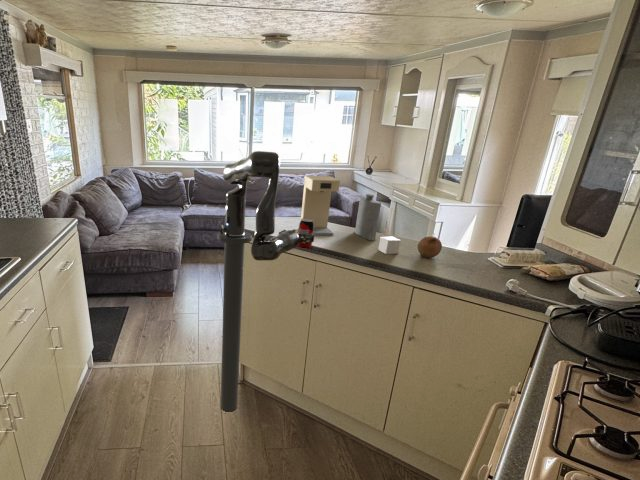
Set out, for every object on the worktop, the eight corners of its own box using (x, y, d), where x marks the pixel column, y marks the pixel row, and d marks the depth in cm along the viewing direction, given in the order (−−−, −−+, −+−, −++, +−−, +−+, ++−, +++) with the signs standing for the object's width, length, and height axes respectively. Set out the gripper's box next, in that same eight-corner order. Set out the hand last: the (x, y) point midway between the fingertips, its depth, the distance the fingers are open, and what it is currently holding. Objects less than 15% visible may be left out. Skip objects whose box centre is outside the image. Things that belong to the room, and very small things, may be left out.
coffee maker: (333, 235, 208) (340, 180, 198) (307, 235, 207) (313, 180, 196) (324, 227, 221) (330, 176, 211) (299, 227, 220) (305, 175, 209)
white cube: (378, 250, 189) (380, 236, 187) (390, 249, 190) (392, 236, 188) (385, 254, 184) (388, 240, 181) (398, 253, 185) (400, 240, 183)
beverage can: (314, 247, 189) (317, 220, 184) (305, 249, 185) (308, 222, 180) (303, 243, 193) (305, 217, 188) (294, 246, 189) (296, 219, 184)
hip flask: (376, 240, 203) (383, 197, 195) (368, 240, 202) (375, 198, 194) (359, 231, 217) (365, 191, 209) (352, 231, 216) (358, 191, 208)
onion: (429, 266, 180) (437, 248, 173) (410, 255, 185) (416, 237, 177) (442, 254, 184) (449, 237, 177) (422, 244, 189) (429, 227, 181)
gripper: (302, 235, 167) (319, 227, 180) (271, 229, 174) (289, 222, 187) (301, 254, 170) (317, 244, 183) (270, 247, 177) (288, 238, 190)
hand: (303, 233), depth 185 cm, fingers open, 8 cm apart
